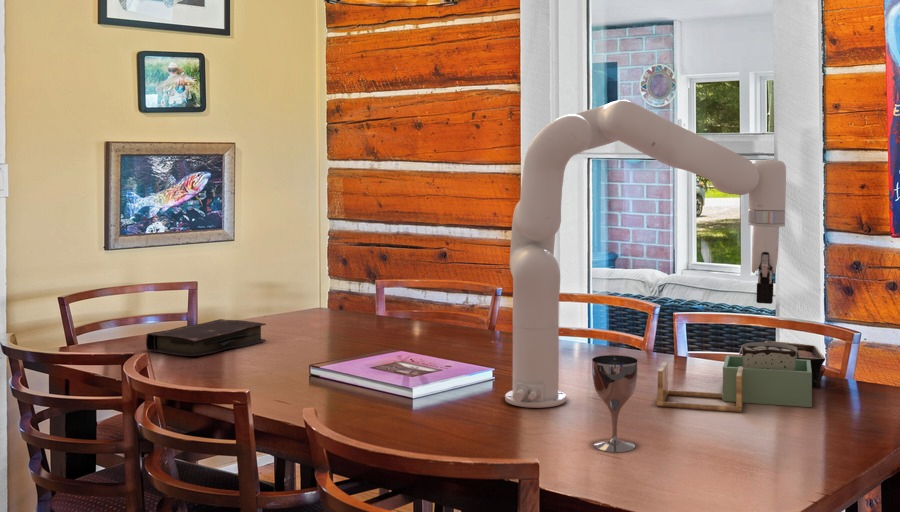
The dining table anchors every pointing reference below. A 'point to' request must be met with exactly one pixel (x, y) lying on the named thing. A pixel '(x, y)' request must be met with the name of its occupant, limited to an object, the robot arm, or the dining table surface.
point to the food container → (769, 356)
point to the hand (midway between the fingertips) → (764, 299)
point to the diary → (205, 337)
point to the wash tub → (769, 384)
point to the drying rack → (696, 393)
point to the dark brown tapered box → (810, 354)
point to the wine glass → (614, 392)
